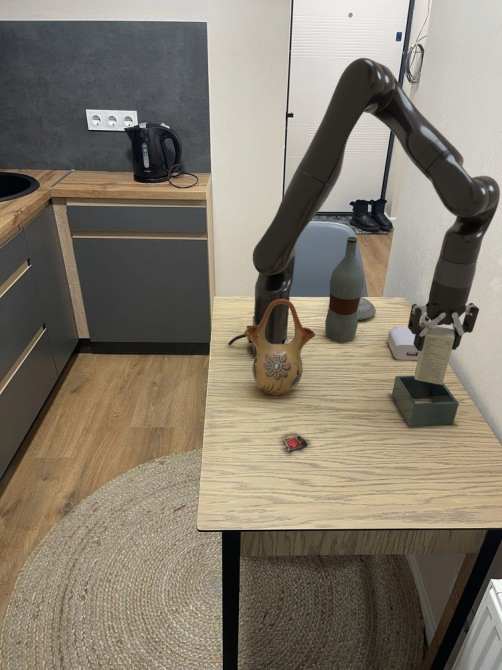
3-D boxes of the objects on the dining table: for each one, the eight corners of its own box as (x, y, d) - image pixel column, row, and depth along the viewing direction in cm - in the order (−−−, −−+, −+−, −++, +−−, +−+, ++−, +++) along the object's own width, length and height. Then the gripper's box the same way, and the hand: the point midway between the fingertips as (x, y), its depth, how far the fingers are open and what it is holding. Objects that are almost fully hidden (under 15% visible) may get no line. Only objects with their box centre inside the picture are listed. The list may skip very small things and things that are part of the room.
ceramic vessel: (307, 380, 126) (316, 290, 114) (311, 402, 118) (321, 308, 106) (243, 379, 126) (244, 289, 113) (242, 401, 118) (244, 306, 106)
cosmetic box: (442, 375, 113) (455, 329, 107) (442, 386, 109) (455, 338, 103) (414, 369, 115) (425, 323, 109) (413, 379, 111) (424, 332, 105)
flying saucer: (365, 327, 152) (367, 311, 149) (320, 315, 158) (322, 299, 156) (381, 309, 163) (384, 294, 160) (339, 298, 170) (341, 283, 167)
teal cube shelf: (409, 426, 111) (414, 405, 108) (391, 396, 121) (395, 376, 118) (453, 424, 112) (459, 403, 109) (431, 394, 122) (437, 374, 119)
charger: (412, 333, 149) (427, 360, 136) (381, 333, 149) (394, 359, 136) (415, 319, 147) (431, 345, 134) (384, 319, 147) (397, 344, 134)
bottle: (360, 334, 148) (375, 237, 133) (348, 347, 141) (362, 246, 126) (331, 325, 152) (342, 230, 138) (318, 337, 146) (329, 239, 131)
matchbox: (309, 444, 105) (310, 443, 105) (291, 454, 102) (291, 452, 102) (295, 432, 108) (295, 431, 108) (277, 441, 106) (277, 439, 105)
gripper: (476, 271, 104) (458, 339, 112) (411, 272, 103) (397, 340, 111) (495, 286, 98) (474, 356, 106) (426, 287, 96) (410, 358, 104)
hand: (435, 348), depth 108 cm, fingers closed on cosmetic box, 7 cm apart
